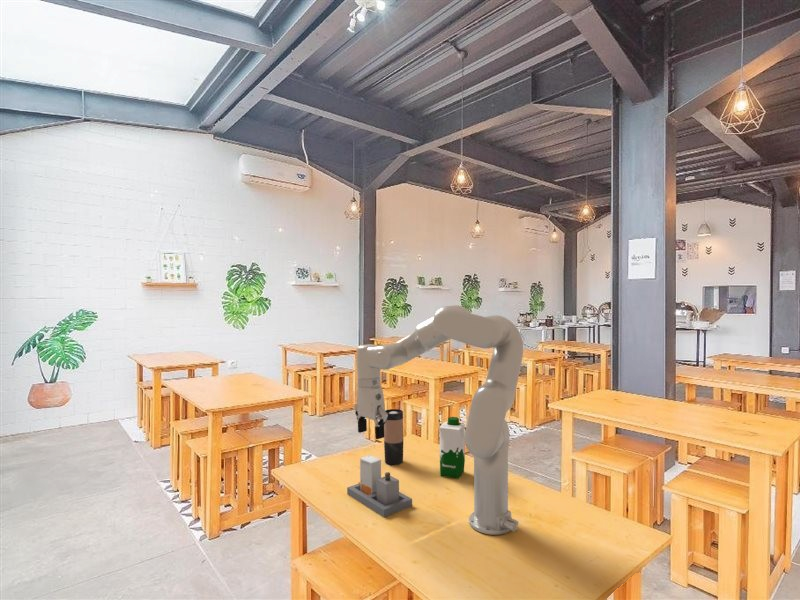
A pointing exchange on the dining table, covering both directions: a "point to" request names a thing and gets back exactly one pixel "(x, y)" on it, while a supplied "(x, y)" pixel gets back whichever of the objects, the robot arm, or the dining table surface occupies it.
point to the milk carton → (452, 448)
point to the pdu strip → (375, 505)
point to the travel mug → (393, 437)
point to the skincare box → (369, 474)
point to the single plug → (387, 489)
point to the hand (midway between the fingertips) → (371, 434)
